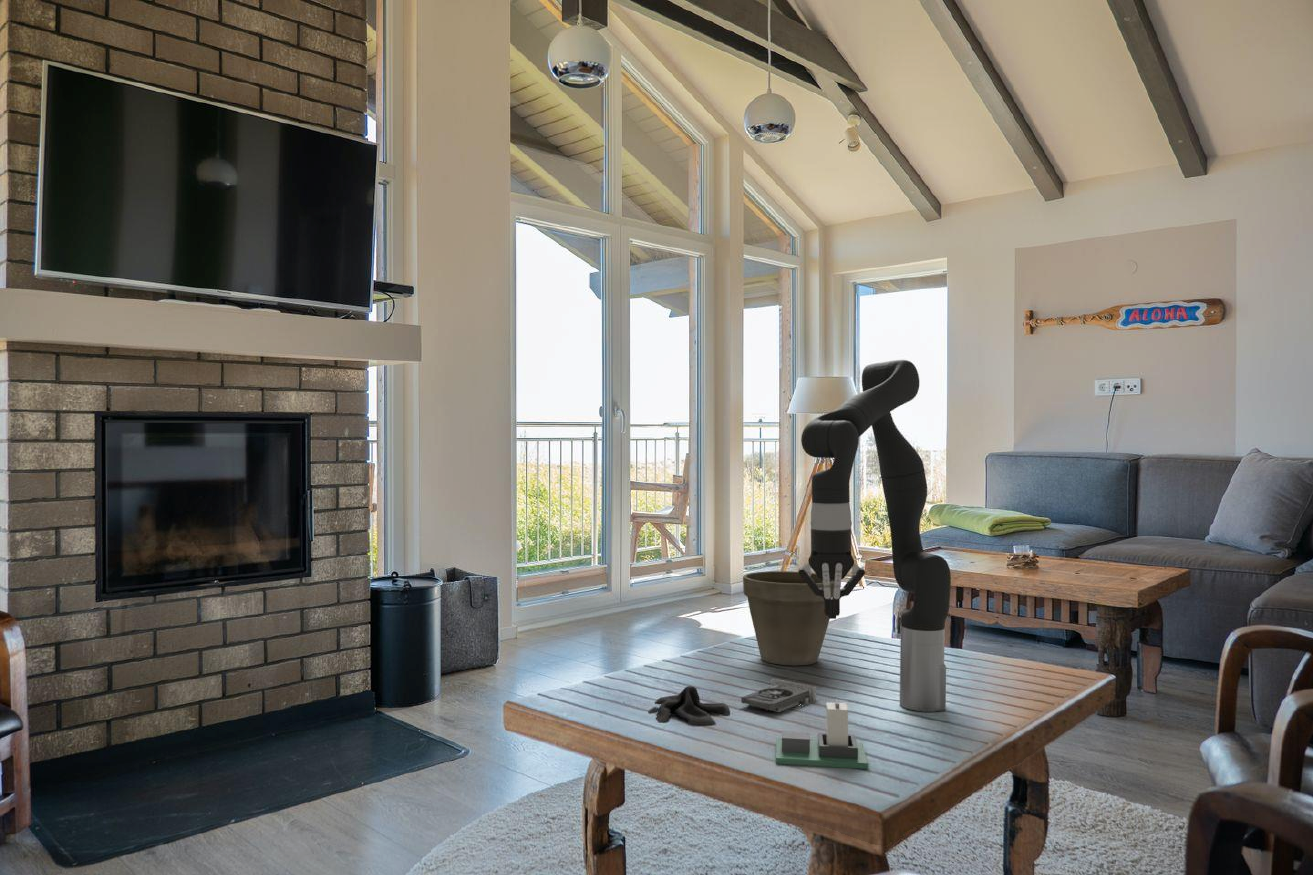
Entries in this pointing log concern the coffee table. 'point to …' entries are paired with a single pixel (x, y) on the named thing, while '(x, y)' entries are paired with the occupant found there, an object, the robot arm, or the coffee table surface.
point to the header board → (819, 751)
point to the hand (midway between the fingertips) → (831, 617)
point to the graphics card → (781, 696)
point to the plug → (836, 724)
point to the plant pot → (786, 616)
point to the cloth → (688, 708)
